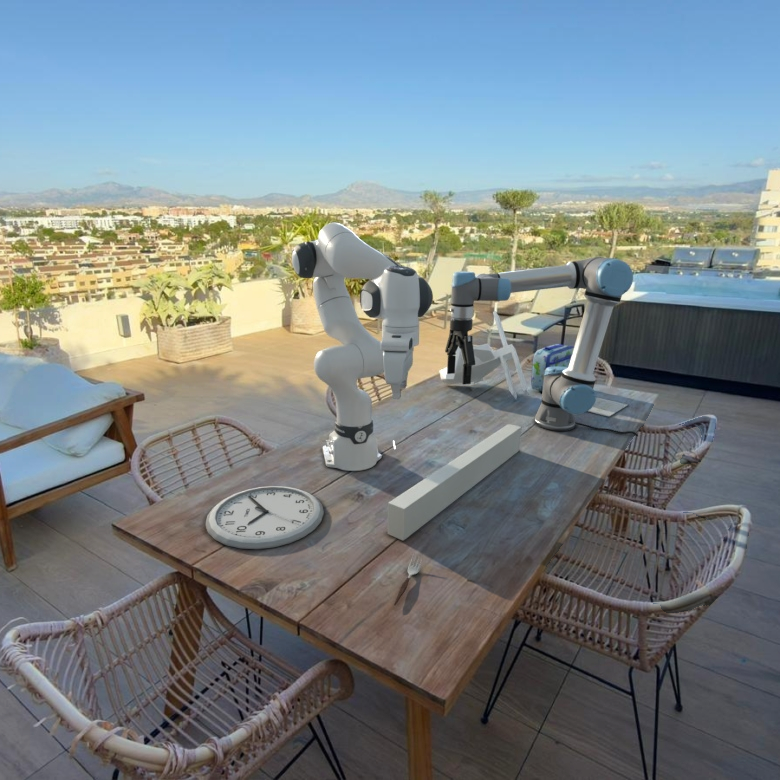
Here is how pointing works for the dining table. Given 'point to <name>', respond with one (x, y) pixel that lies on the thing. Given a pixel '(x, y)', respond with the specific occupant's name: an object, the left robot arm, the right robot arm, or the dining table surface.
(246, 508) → the wall clock
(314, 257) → the left robot arm
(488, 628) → the dining table surface
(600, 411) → the invitation card
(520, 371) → the white plastic object
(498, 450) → the post
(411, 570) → the fork
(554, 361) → the lunch box
